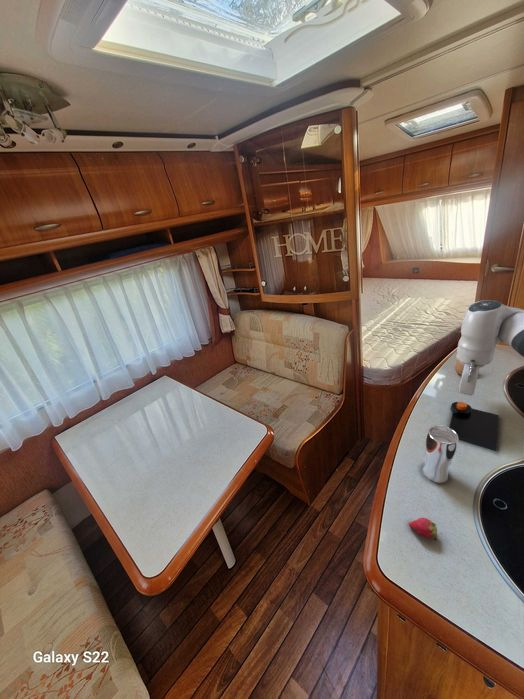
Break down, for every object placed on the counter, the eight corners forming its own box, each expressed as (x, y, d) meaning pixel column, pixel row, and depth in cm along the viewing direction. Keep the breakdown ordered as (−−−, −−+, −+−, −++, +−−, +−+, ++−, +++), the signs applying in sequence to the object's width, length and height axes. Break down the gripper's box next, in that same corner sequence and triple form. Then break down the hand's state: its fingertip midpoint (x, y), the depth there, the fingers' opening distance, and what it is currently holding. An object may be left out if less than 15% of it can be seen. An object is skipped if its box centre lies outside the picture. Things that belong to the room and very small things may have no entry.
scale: (451, 406, 97) (452, 399, 96) (497, 418, 90) (500, 411, 88) (443, 435, 87) (445, 428, 86) (495, 451, 79) (498, 444, 78)
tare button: (456, 404, 94) (457, 400, 94) (466, 406, 93) (467, 403, 92) (455, 409, 92) (456, 405, 92) (465, 411, 91) (466, 408, 90)
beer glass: (450, 468, 76) (460, 429, 70) (449, 488, 72) (459, 448, 65) (422, 459, 80) (428, 421, 74) (419, 478, 75) (425, 438, 69)
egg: (449, 372, 115) (452, 355, 111) (462, 368, 116) (465, 352, 112) (462, 380, 109) (466, 362, 105) (476, 376, 110) (480, 358, 106)
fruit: (411, 517, 67) (413, 505, 65) (439, 532, 63) (442, 519, 61) (405, 532, 64) (407, 519, 62) (435, 548, 60) (438, 536, 58)
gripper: (485, 372, 74) (475, 411, 80) (489, 341, 87) (481, 376, 94) (457, 367, 78) (450, 405, 84) (465, 338, 91) (458, 372, 98)
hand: (466, 390), depth 89 cm, fingers closed
